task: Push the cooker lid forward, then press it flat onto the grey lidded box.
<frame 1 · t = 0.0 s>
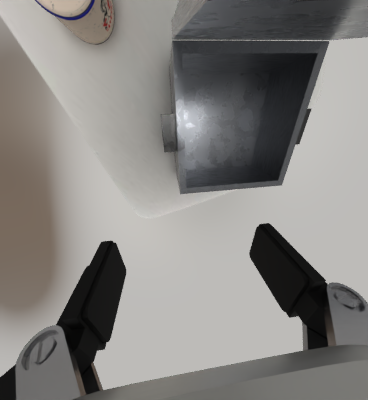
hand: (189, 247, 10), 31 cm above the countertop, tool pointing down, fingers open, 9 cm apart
grey lidded box: (218, 127, 35), on the countertop
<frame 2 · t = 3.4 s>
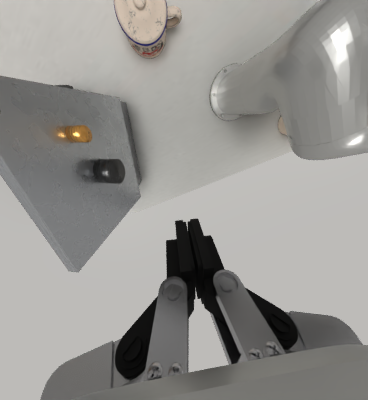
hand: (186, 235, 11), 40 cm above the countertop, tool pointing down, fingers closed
teacup with lid: (153, 32, 33), on the countertop
cooker lid: (106, 171, 24), point 23 cm above the countertop, hinge at 75.0°
grey lidded box: (96, 148, 43), on the countertop
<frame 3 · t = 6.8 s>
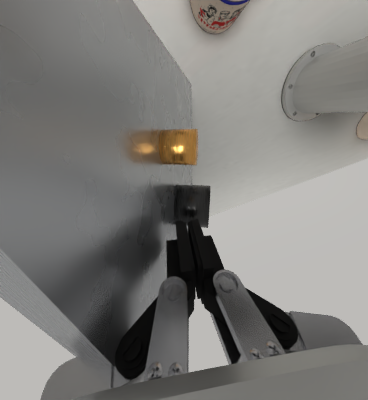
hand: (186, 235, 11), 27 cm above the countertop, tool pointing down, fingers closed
cooker lid: (185, 205, 14), point 23 cm above the countertop, hinge at 73.9°, touching gripper
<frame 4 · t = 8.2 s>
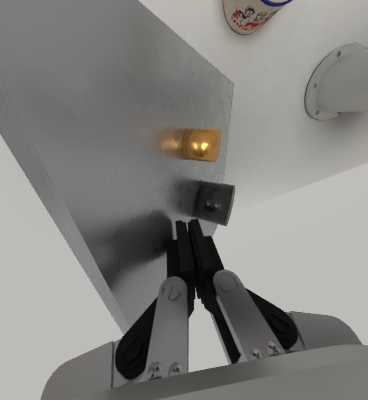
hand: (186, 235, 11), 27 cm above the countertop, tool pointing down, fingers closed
cooker lid: (208, 201, 15), point 22 cm above the countertop, hinge at 56.9°, touching gripper
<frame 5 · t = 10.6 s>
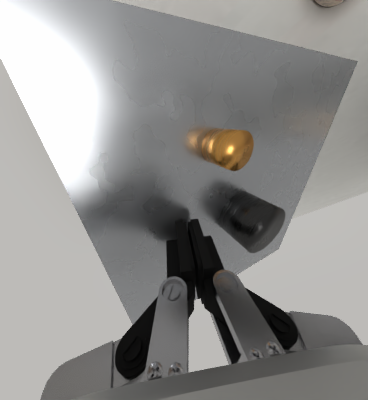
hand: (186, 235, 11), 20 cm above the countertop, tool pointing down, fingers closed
cooker lid: (243, 216, 13), point 18 cm above the countertop, hinge at 20.8°, touching gripper
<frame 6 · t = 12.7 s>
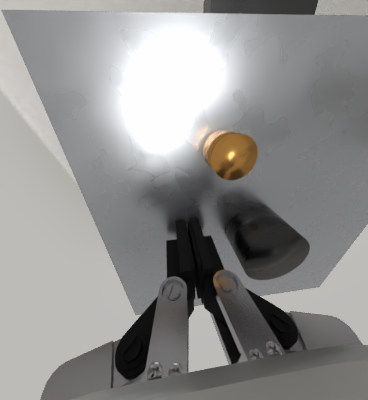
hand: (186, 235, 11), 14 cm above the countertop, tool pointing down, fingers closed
cooker lid: (256, 234, 11), point 14 cm above the countertop, hinge at 0.0°, touching gripper
grey lidded box: (206, 170, 23), on the countertop
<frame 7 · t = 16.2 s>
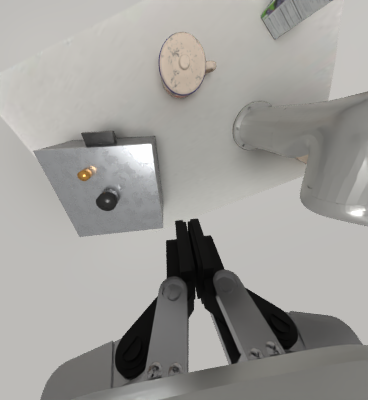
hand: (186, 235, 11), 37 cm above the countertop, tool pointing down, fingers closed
teacup with lid: (184, 76, 35), on the countertop
syrup box: (277, 15, 32), on the countertop
cooker lid: (109, 198, 33), point 14 cm above the countertop, hinge at 0.0°
grey lidded box: (124, 176, 46), on the countertop
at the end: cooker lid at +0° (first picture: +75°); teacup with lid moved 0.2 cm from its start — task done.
